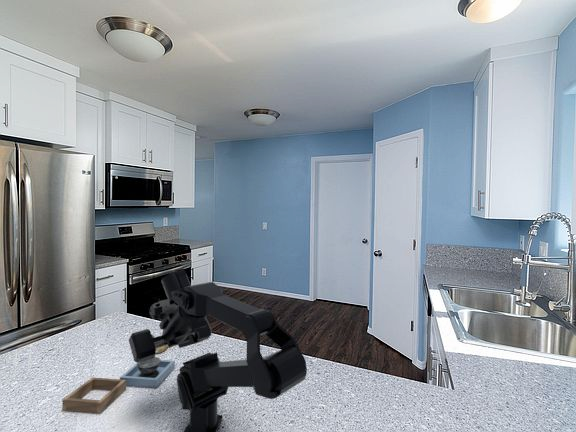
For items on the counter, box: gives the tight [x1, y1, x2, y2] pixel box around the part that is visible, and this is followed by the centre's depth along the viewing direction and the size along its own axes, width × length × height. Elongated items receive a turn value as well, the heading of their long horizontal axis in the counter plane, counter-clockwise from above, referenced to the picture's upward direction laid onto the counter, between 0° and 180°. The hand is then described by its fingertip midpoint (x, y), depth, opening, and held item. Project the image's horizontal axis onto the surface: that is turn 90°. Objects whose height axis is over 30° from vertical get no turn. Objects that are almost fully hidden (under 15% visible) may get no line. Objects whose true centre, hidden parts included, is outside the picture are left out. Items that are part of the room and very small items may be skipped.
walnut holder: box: [61, 377, 127, 415], centre depth 73 cm, size 9×9×2 cm
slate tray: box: [119, 359, 176, 389], centre depth 83 cm, size 10×10×2 cm
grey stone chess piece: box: [136, 334, 162, 378], centre depth 83 cm, size 6×6×12 cm
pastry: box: [156, 342, 169, 354], centre depth 101 cm, size 9×7×4 cm
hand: (162, 351), depth 78 cm, fingers open, 9 cm apart
